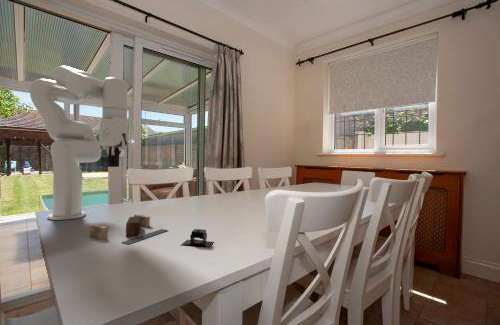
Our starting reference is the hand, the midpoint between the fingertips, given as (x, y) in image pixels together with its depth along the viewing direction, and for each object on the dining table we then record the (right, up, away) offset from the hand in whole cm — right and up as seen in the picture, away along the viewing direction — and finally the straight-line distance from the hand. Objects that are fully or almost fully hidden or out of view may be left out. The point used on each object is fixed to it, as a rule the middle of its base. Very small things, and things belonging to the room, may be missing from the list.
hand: (113, 166), depth 87 cm
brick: (+9, -23, -3) cm, 24 cm away
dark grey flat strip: (+15, -23, -7) cm, 28 cm away
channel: (+4, -22, -2) cm, 23 cm away
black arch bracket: (+33, -24, -12) cm, 42 cm away
